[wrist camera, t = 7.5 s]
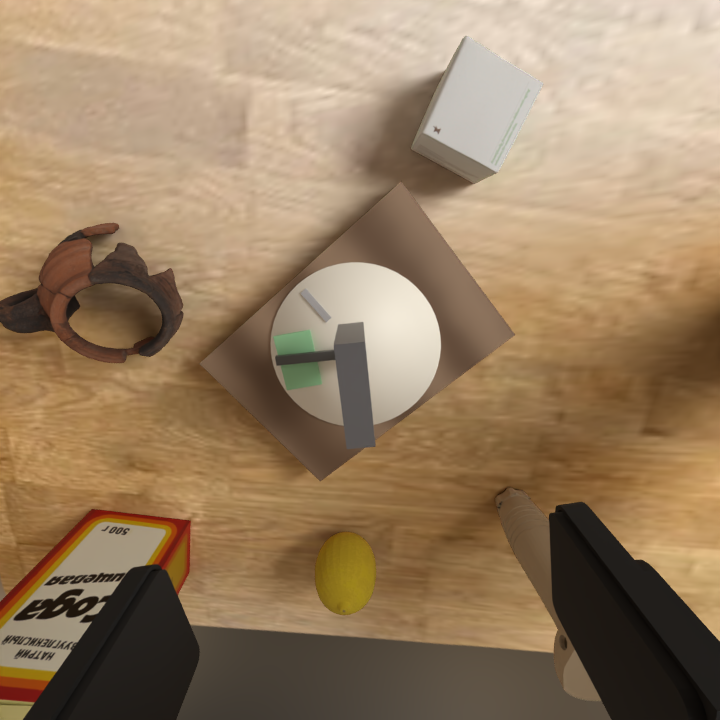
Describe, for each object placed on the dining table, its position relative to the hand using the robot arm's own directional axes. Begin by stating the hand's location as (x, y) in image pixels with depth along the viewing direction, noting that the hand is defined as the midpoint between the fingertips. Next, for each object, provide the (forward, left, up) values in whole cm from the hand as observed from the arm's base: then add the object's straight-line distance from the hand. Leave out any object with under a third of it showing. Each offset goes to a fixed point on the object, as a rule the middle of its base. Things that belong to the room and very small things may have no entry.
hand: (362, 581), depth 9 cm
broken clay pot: (+12, -16, -24) cm, 31 cm away
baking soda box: (+30, +2, -24) cm, 39 cm away
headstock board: (0, 0, -24) cm, 24 cm away
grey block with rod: (+2, -2, -20) cm, 21 cm away
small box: (-16, -7, -24) cm, 30 cm away
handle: (-1, +22, -24) cm, 33 cm away
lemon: (+14, +15, -24) cm, 32 cm away
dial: (0, 0, -21) cm, 21 cm away
